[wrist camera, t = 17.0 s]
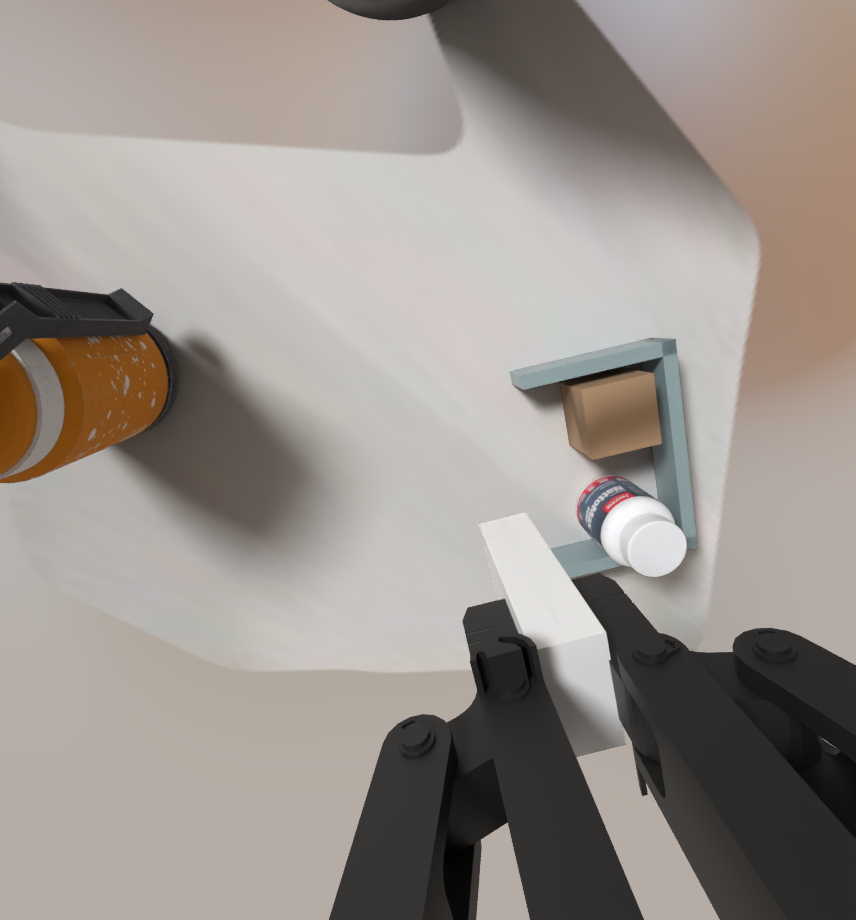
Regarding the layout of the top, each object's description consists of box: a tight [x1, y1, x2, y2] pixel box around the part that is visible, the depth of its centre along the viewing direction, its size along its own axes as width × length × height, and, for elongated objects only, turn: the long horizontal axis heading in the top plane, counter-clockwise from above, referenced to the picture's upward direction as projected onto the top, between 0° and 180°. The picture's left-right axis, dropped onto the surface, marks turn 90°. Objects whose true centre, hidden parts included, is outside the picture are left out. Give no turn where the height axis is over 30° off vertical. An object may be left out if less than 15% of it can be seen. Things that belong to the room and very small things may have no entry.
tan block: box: [560, 368, 662, 460], centre depth 39 cm, size 5×5×5 cm
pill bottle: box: [576, 475, 687, 577], centre depth 39 cm, size 5×5×9 cm
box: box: [510, 338, 698, 578], centre depth 41 cm, size 16×11×4 cm
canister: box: [0, 282, 178, 483], centre depth 29 cm, size 9×11×20 cm
